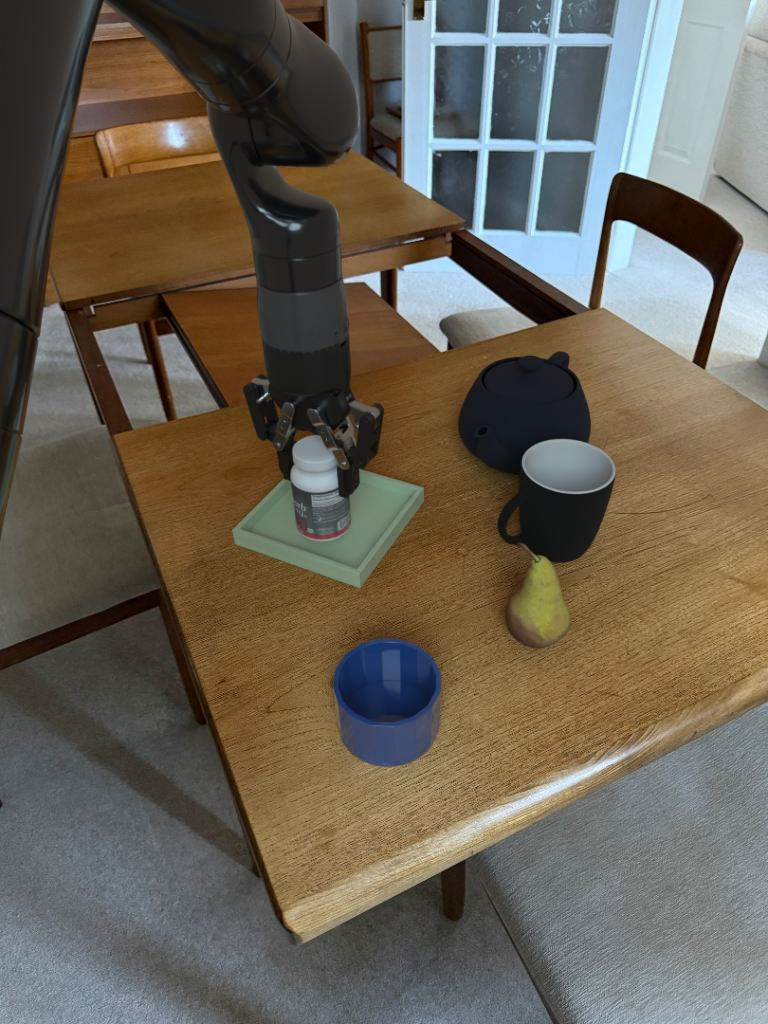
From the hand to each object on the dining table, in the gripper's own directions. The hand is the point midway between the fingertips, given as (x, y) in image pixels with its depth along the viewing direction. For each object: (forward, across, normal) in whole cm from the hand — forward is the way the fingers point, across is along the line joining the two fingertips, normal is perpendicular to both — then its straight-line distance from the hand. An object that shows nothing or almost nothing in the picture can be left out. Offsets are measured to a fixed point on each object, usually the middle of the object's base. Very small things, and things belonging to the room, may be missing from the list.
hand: (320, 484), depth 74 cm
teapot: (+8, +13, +24) cm, 29 cm away
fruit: (+8, +24, -3) cm, 25 cm away
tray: (+8, -1, +3) cm, 8 cm away
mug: (+8, +21, +9) cm, 24 cm away
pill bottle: (+6, 0, 0) cm, 6 cm away
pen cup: (+8, +16, -17) cm, 25 cm away
